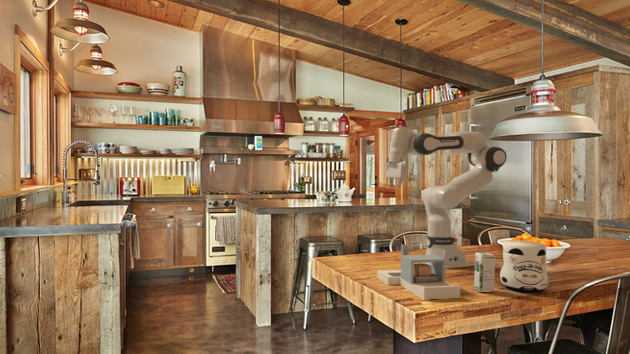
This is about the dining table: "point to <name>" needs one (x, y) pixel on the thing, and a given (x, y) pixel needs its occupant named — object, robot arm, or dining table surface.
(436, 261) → the tunnel
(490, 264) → the syrup box
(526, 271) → the milk container
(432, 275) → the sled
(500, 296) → the dining table surface
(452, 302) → the dining table surface
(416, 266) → the block
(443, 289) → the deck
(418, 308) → the dining table surface
